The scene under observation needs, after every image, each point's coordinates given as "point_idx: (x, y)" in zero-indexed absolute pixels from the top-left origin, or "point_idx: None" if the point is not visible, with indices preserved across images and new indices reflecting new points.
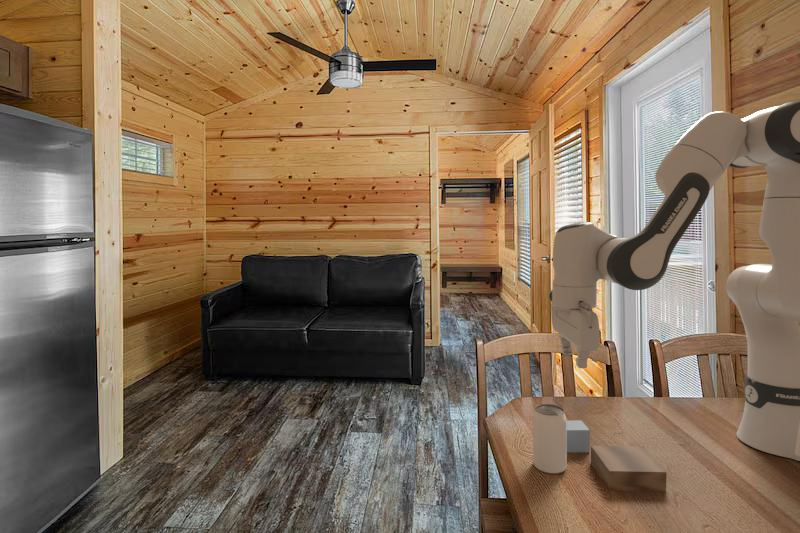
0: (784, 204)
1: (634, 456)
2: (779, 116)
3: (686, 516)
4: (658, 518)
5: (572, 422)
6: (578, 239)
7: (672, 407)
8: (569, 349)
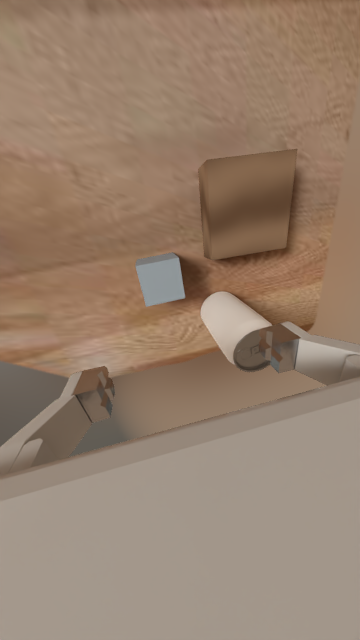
0: None
1: (247, 191)
2: None
3: (328, 156)
4: (325, 199)
5: (150, 284)
6: None
7: None
8: (101, 392)
